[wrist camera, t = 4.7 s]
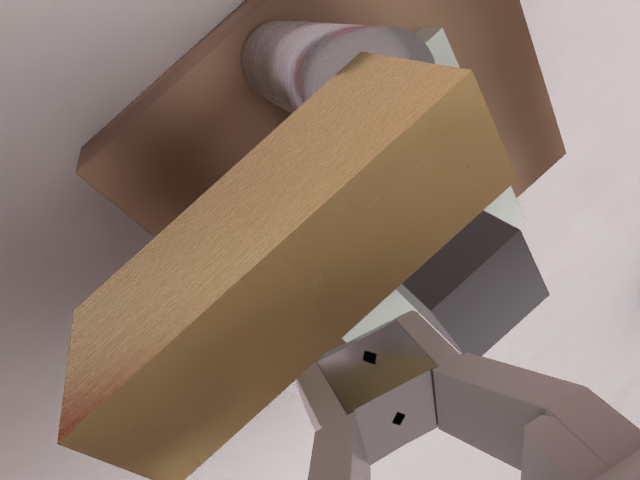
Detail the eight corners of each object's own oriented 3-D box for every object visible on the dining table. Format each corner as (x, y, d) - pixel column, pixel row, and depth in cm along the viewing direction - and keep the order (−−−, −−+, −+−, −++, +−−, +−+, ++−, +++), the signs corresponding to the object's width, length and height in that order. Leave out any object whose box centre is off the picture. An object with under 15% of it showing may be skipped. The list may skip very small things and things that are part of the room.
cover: (354, 344, 21) (429, 447, 16) (214, 213, 16) (263, 310, 11) (505, 207, 21) (627, 268, 16) (421, 26, 16) (569, 34, 11)
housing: (302, 334, 24) (323, 371, 21) (81, 147, 16) (75, 173, 13) (519, 138, 24) (566, 153, 21) (410, -149, 16) (465, -177, 13)
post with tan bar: (203, 278, 16) (290, 531, 8) (84, 183, 13) (42, 438, 5) (367, 130, 16) (608, 244, 8) (284, 2, 13) (538, -10, 5)
